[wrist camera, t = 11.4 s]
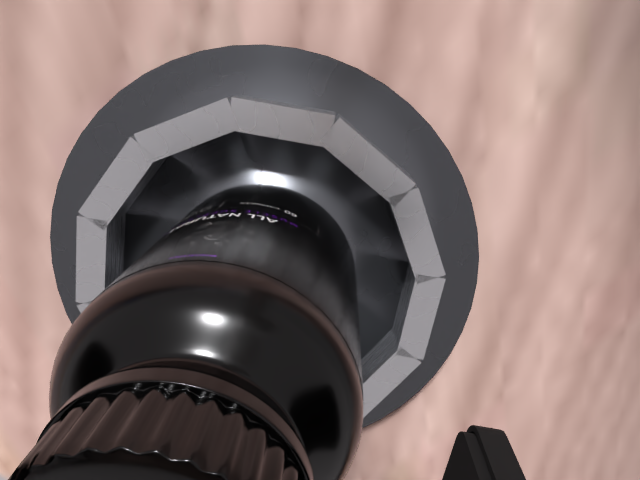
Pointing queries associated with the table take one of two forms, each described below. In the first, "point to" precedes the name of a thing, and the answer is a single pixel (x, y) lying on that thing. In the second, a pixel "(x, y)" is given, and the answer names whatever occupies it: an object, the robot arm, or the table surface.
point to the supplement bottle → (215, 354)
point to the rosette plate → (289, 172)
